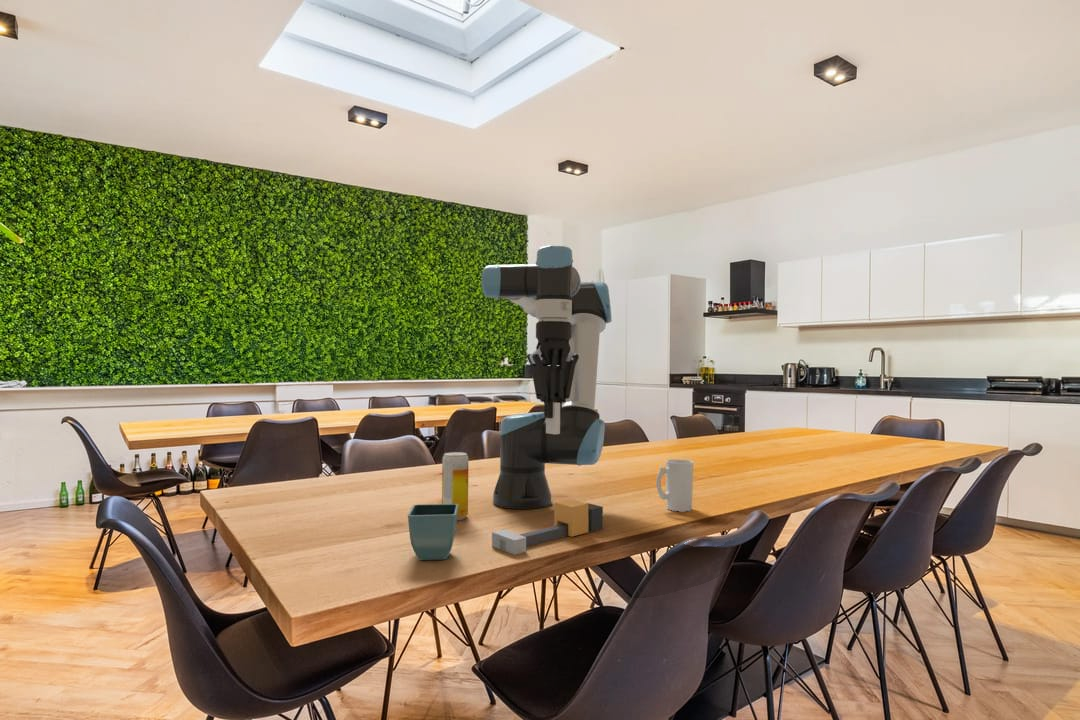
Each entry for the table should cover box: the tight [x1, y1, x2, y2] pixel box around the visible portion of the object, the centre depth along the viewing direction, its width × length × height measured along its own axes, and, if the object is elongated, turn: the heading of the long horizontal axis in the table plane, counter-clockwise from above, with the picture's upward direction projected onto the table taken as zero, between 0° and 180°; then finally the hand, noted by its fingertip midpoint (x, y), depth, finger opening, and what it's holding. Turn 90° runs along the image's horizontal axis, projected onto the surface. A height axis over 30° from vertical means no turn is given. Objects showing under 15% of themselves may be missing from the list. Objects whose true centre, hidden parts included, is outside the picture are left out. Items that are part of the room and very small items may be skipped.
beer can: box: [441, 451, 470, 521], centre depth 144 cm, size 6×6×15 cm
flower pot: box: [407, 503, 458, 561], centre depth 116 cm, size 9×9×9 cm
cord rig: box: [491, 502, 604, 556], centre depth 128 cm, size 26×7×5 cm, turn 132°
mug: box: [656, 458, 694, 513], centre depth 154 cm, size 10×7×12 cm, turn 112°
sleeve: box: [553, 498, 589, 537], centre depth 132 cm, size 5×5×6 cm
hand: (552, 433), depth 128 cm, fingers closed
